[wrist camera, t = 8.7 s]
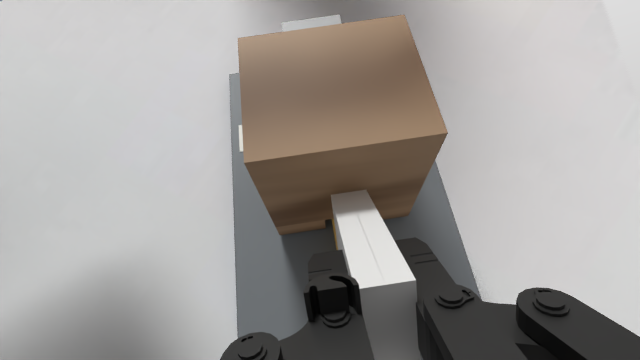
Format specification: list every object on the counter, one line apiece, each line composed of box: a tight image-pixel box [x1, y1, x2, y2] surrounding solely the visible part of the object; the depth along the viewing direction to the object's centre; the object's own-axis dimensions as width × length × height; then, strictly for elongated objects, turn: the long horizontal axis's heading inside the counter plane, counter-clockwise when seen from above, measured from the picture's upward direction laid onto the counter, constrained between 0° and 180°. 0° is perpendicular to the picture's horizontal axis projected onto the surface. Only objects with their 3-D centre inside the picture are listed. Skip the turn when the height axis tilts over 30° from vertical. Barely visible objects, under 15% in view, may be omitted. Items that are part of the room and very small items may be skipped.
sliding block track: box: [229, 14, 481, 360], centre depth 18 cm, size 26×12×4 cm, turn 8°
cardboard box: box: [238, 15, 448, 235], centre depth 17 cm, size 6×7×8 cm
